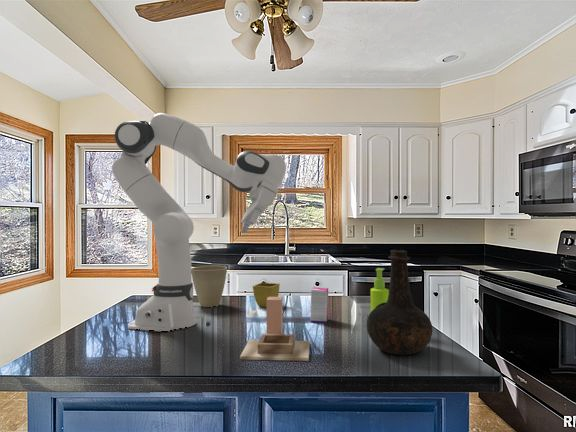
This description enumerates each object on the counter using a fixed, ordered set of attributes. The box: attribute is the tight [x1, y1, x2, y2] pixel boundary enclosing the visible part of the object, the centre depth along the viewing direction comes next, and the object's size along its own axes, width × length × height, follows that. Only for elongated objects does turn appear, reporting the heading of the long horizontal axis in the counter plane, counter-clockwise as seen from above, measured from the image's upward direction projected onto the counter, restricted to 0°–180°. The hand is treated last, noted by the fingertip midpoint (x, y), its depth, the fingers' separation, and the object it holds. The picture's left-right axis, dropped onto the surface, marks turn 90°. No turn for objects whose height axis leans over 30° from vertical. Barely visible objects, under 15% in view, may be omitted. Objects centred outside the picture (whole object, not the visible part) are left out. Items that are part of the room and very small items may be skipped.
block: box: [265, 296, 284, 334], centre depth 124 cm, size 4×4×12 cm
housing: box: [239, 333, 311, 362], centre depth 111 cm, size 18×14×3 cm
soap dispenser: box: [369, 267, 389, 313], centre depth 133 cm, size 6×7×20 cm
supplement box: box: [309, 286, 329, 324], centre depth 143 cm, size 6×6×12 cm
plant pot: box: [191, 265, 228, 308], centre depth 168 cm, size 15×15×16 cm
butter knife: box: [247, 309, 258, 319], centre depth 147 cm, size 1×24×3 cm
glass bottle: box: [366, 249, 433, 356], centre depth 112 cm, size 18×18×28 cm
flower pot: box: [252, 282, 280, 308], centre depth 167 cm, size 9×9×9 cm
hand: (247, 227), depth 133 cm, fingers open, 8 cm apart
